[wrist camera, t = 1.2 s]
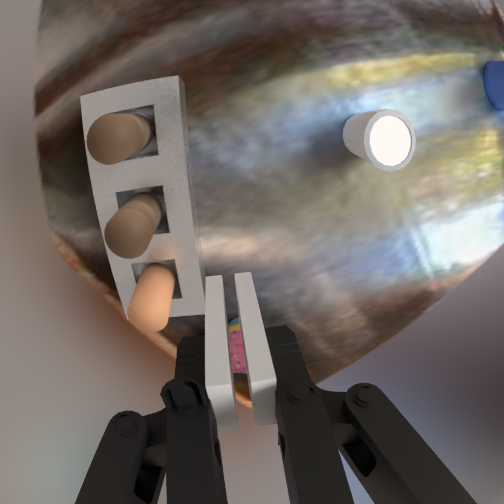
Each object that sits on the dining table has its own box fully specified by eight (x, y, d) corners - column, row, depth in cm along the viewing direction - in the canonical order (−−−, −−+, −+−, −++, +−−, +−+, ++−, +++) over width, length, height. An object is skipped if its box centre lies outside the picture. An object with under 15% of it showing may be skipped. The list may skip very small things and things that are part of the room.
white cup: (331, 153, 34) (357, 162, 28) (344, 100, 32) (372, 99, 25) (377, 167, 36) (407, 179, 29) (390, 118, 33) (422, 122, 27)
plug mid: (122, 194, 28) (99, 217, 22) (159, 189, 29) (145, 210, 22) (129, 230, 30) (110, 261, 24) (165, 226, 30) (153, 256, 24)
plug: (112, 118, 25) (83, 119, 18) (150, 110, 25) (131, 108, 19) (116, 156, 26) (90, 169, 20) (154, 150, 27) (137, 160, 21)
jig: (100, 98, 28) (80, 96, 23) (184, 82, 29) (178, 75, 23) (136, 293, 39) (127, 319, 34) (207, 286, 40) (207, 313, 35)
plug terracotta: (137, 264, 32) (122, 299, 25) (171, 260, 32) (163, 296, 26) (145, 294, 33) (133, 333, 27) (177, 291, 34) (172, 330, 28)
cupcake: (281, 326, 45) (300, 385, 34) (241, 357, 47) (250, 417, 36) (241, 295, 41) (251, 356, 31) (200, 330, 43) (200, 393, 32)
